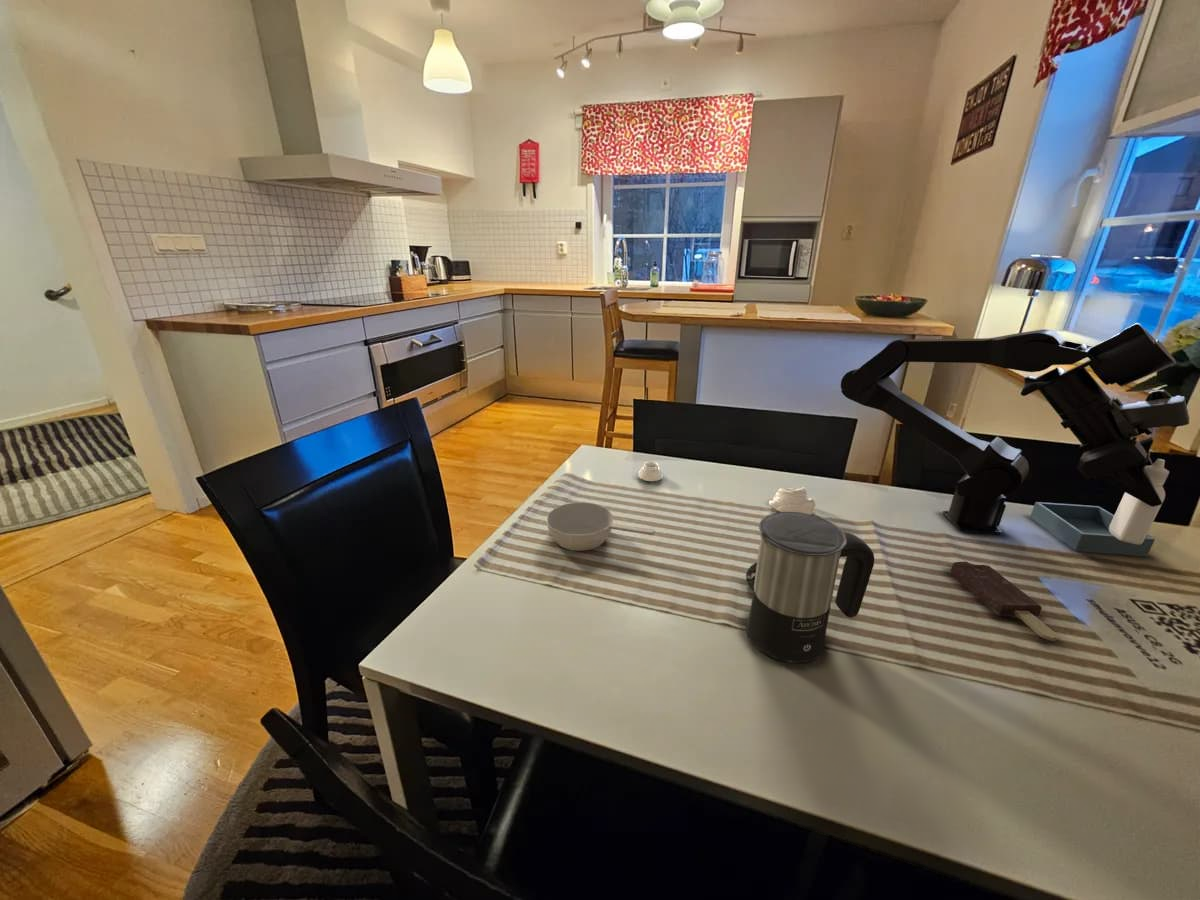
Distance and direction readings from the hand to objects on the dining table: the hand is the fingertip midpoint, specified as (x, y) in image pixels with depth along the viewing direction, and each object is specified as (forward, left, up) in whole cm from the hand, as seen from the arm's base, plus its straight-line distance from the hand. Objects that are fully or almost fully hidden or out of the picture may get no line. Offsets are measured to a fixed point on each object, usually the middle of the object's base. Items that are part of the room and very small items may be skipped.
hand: (1158, 498), depth 68 cm
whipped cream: (-45, +13, -12) cm, 48 cm away
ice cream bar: (-22, -10, -12) cm, 27 cm away
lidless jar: (-71, +22, -12) cm, 76 cm away
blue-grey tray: (+2, +11, -12) cm, 17 cm away
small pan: (-78, -4, -12) cm, 79 cm away
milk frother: (-52, -17, -12) cm, 56 cm away
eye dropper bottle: (-1, +1, -7) cm, 7 cm away
